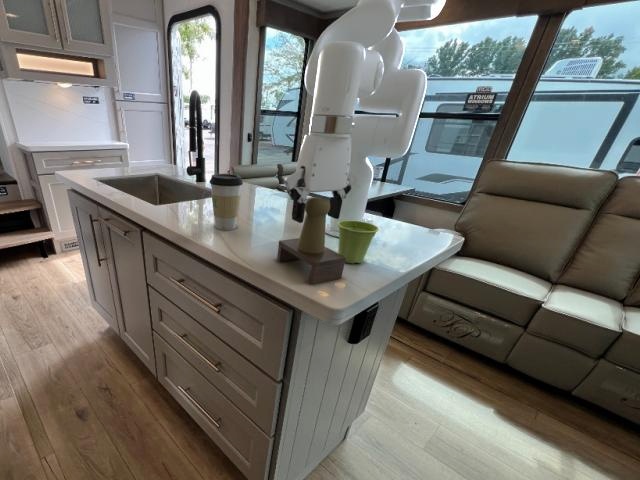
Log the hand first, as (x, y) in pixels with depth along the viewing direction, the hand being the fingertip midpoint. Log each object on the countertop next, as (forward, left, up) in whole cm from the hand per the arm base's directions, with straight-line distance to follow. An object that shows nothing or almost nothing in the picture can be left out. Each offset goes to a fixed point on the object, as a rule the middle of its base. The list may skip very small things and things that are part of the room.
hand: (315, 219), depth 67 cm
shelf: (0, 0, -12) cm, 12 cm away
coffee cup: (+5, -36, -12) cm, 38 cm away
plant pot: (-14, -1, -12) cm, 18 cm away
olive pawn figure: (0, 0, -7) cm, 7 cm away
